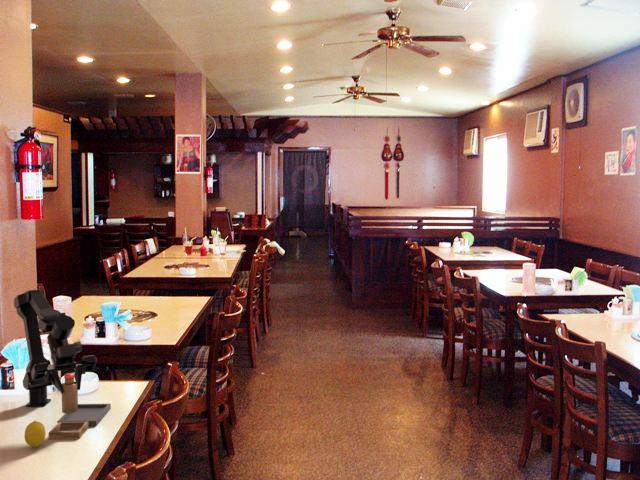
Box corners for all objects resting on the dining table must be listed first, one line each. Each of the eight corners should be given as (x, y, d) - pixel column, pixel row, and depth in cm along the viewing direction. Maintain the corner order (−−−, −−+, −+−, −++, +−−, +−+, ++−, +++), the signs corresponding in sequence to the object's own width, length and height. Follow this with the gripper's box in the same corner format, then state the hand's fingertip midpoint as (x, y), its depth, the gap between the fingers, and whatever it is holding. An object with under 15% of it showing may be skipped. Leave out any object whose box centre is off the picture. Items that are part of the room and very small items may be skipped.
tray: (74, 409, 213) (74, 404, 213) (110, 408, 213) (110, 403, 213) (57, 426, 197) (57, 421, 197) (96, 426, 198) (96, 420, 197)
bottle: (65, 408, 195) (64, 372, 194) (80, 408, 195) (79, 372, 194) (59, 413, 191) (58, 376, 190) (75, 413, 191) (74, 376, 190)
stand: (59, 428, 196) (59, 421, 196) (88, 427, 196) (88, 421, 196) (48, 439, 187) (48, 432, 187) (79, 438, 188) (79, 432, 187)
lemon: (37, 452, 178) (37, 425, 177) (20, 450, 179) (19, 423, 178) (49, 444, 183) (49, 418, 183) (33, 443, 184) (32, 416, 184)
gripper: (32, 338, 188) (43, 383, 181) (94, 330, 200) (107, 372, 192) (26, 357, 195) (36, 402, 187) (87, 348, 207) (99, 390, 199)
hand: (71, 391), depth 191 cm, fingers closed on bottle, 5 cm apart
